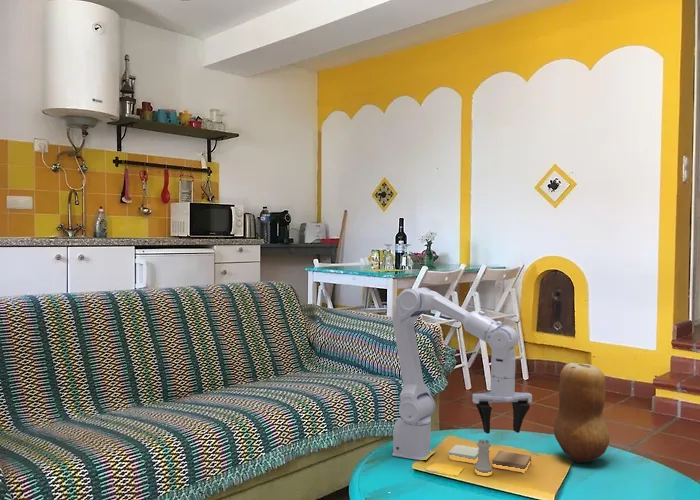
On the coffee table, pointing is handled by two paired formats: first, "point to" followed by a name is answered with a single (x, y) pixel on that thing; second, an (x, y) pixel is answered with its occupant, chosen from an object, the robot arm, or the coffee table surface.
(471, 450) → the grey-green block
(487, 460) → the rook chess piece
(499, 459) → the walnut block
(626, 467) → the coffee table surface
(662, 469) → the coffee table surface
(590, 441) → the butternut squash
